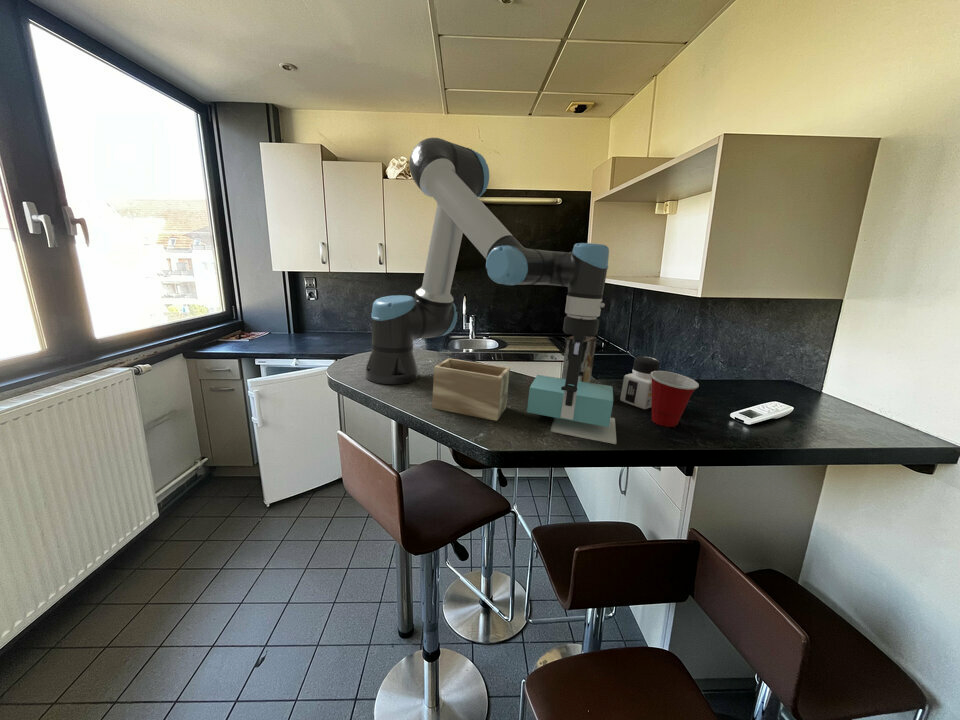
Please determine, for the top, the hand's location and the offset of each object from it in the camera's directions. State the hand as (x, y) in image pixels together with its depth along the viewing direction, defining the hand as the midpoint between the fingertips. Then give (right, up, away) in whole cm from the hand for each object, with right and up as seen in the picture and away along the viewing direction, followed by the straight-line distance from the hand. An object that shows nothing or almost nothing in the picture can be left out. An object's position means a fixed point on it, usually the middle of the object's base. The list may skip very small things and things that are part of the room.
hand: (569, 409), depth 93 cm
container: (+24, -1, +18) cm, 30 cm away
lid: (0, 0, 0) cm, 1 cm away
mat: (0, -3, +1) cm, 3 cm away
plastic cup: (+25, -4, +5) cm, 26 cm away
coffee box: (+7, +2, +25) cm, 26 cm away
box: (-23, -1, +3) cm, 24 cm away
